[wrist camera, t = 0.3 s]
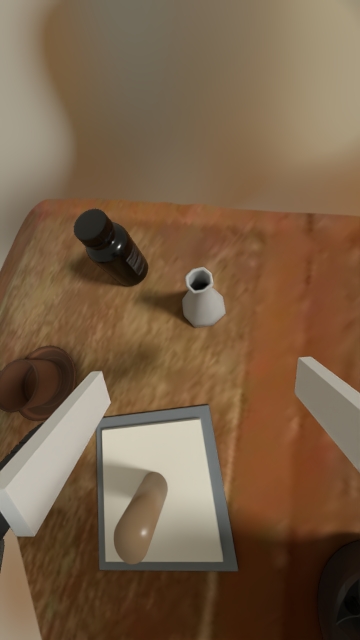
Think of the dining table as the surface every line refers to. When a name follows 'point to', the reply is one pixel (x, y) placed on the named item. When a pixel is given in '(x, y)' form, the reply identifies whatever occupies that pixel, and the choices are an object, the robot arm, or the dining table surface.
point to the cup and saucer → (37, 383)
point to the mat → (216, 483)
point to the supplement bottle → (111, 247)
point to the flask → (202, 299)
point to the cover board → (184, 488)
